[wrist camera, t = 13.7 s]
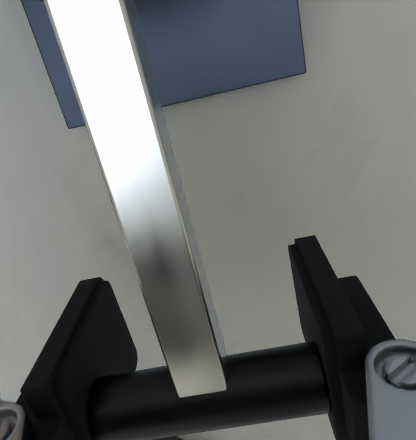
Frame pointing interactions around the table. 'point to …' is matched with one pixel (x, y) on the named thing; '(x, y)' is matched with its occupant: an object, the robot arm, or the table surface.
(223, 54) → the black lever switch stand
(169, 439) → the button switch box
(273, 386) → the t-shaped lever handle
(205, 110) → the table surface
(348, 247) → the table surface
